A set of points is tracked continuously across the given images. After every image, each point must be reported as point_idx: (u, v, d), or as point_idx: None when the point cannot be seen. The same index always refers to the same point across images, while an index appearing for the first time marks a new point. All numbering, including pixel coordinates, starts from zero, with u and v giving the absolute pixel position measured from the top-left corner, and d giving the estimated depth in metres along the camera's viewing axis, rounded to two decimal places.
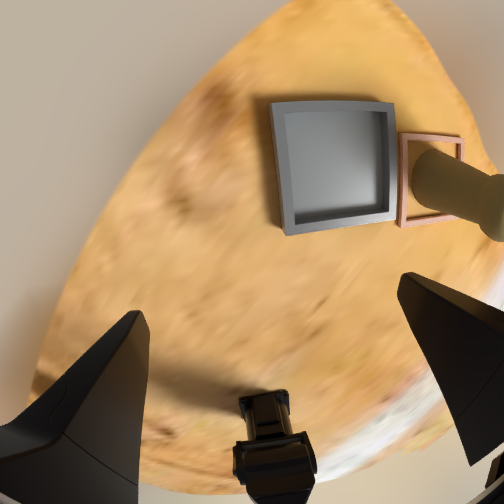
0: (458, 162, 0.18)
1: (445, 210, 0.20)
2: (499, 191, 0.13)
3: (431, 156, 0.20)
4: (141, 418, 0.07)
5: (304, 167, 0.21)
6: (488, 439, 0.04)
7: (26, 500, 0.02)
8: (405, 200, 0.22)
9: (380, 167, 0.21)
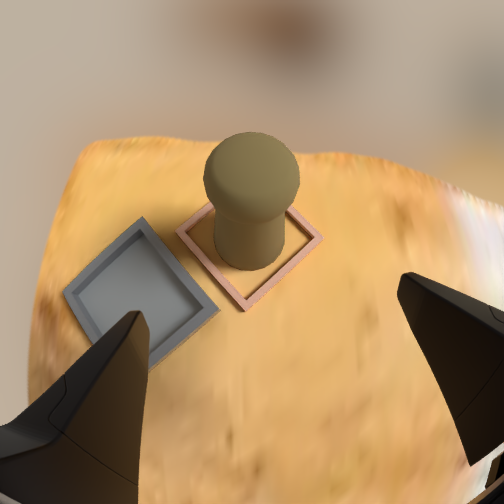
0: None
1: (251, 251, 0.19)
2: (204, 171, 0.14)
3: None
4: (141, 418, 0.07)
5: (112, 324, 0.21)
6: (488, 439, 0.04)
7: (26, 500, 0.02)
8: (225, 282, 0.22)
9: (174, 276, 0.22)
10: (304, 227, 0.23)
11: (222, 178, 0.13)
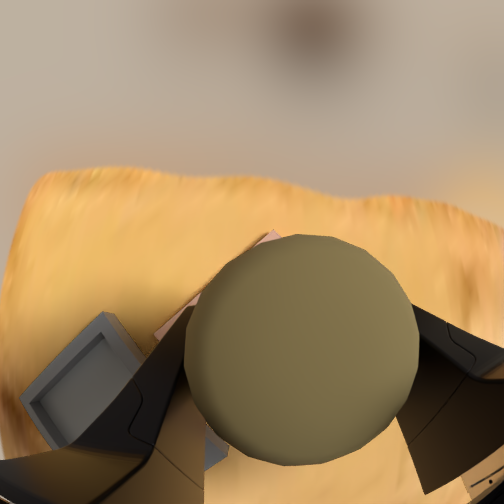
0: None
1: None
2: (184, 360, 0.05)
3: None
4: None
5: None
6: (441, 471, 0.04)
7: None
8: None
9: None
10: None
11: (238, 419, 0.04)
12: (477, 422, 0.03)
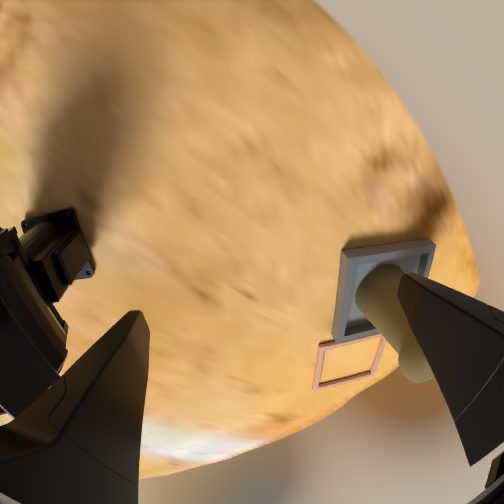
0: None
1: (379, 310, 0.22)
2: None
3: None
4: (141, 418, 0.07)
5: None
6: (488, 439, 0.04)
7: (27, 500, 0.02)
8: (342, 345, 0.29)
9: None
10: (326, 385, 0.33)
11: None
12: None
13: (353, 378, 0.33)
